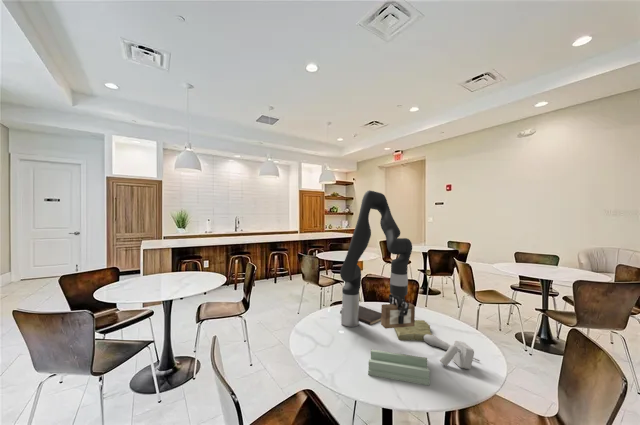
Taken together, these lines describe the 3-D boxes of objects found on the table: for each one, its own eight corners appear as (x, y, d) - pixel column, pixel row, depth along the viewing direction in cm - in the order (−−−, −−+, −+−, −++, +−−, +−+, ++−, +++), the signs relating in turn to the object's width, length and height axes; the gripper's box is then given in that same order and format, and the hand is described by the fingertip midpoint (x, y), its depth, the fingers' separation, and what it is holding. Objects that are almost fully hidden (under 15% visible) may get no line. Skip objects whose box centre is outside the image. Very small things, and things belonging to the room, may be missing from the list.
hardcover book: (357, 308, 179) (357, 304, 179) (387, 318, 162) (387, 314, 162) (340, 314, 168) (340, 310, 168) (370, 326, 151) (370, 322, 151)
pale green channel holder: (368, 374, 106) (368, 363, 106) (371, 358, 117) (371, 348, 117) (429, 385, 99) (429, 373, 99) (426, 367, 111) (426, 356, 111)
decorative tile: (398, 340, 135) (398, 333, 135) (391, 323, 155) (391, 317, 155) (437, 342, 133) (437, 335, 133) (425, 325, 153) (426, 319, 153)
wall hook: (434, 359, 116) (440, 336, 116) (457, 363, 117) (462, 341, 117) (444, 370, 108) (450, 345, 108) (468, 375, 109) (475, 350, 109)
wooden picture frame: (385, 328, 119) (386, 308, 119) (381, 324, 123) (381, 304, 123) (414, 326, 122) (415, 306, 122) (409, 322, 126) (409, 302, 126)
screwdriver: (478, 369, 113) (478, 360, 112) (421, 343, 132) (421, 335, 131) (482, 362, 116) (482, 353, 115) (427, 338, 135) (426, 330, 134)
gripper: (415, 287, 116) (414, 327, 116) (398, 278, 130) (397, 314, 130) (399, 288, 114) (398, 328, 115) (383, 279, 128) (382, 315, 129)
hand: (397, 321), depth 122 cm, fingers closed on wooden picture frame, 4 cm apart
